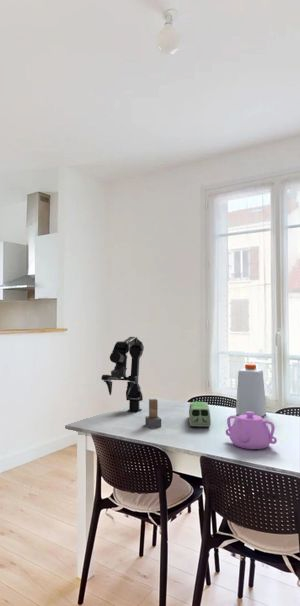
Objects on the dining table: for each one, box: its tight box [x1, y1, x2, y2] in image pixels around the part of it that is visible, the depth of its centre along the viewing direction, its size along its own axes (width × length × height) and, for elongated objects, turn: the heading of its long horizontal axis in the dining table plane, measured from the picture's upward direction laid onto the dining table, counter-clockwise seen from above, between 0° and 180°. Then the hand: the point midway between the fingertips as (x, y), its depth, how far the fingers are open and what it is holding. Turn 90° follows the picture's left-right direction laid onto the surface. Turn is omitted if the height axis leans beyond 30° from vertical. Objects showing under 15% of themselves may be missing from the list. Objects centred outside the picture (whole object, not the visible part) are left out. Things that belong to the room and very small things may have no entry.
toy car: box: [188, 401, 212, 429], centre depth 195 cm, size 11×25×10 cm, turn 174°
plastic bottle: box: [235, 363, 267, 418], centre depth 213 cm, size 15×15×28 cm
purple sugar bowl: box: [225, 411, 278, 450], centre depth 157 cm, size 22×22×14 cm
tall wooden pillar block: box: [144, 398, 162, 429], centre depth 189 cm, size 7×6×13 cm
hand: (118, 395), depth 195 cm, fingers open, 9 cm apart
